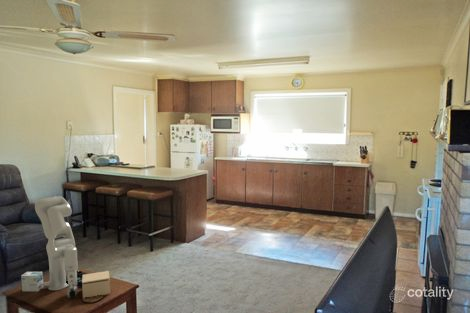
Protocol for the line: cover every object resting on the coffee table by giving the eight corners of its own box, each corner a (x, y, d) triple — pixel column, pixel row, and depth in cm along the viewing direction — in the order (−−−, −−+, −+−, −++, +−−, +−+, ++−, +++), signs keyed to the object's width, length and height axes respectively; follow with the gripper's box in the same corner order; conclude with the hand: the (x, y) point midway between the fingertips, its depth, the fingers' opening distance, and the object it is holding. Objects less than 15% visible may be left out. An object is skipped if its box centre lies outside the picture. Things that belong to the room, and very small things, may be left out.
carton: (82, 298, 222) (82, 284, 221) (83, 289, 235) (82, 275, 234) (110, 293, 228) (109, 280, 227) (109, 284, 241) (108, 271, 240)
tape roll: (67, 298, 222) (66, 290, 222) (67, 294, 228) (67, 286, 228) (77, 296, 225) (77, 289, 224) (78, 292, 230) (77, 285, 230)
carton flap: (82, 283, 221) (82, 282, 221) (82, 275, 234) (82, 274, 234) (109, 279, 227) (109, 277, 227) (108, 271, 240) (108, 270, 240)
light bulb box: (43, 287, 239) (42, 271, 238) (37, 291, 232) (36, 275, 231) (28, 286, 240) (27, 271, 239) (21, 291, 233) (20, 275, 232)
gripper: (77, 271, 218) (78, 299, 220) (78, 261, 234) (79, 287, 236) (63, 273, 215) (65, 301, 217) (65, 263, 231) (67, 289, 233)
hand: (72, 294), depth 226 cm, fingers open, 7 cm apart
